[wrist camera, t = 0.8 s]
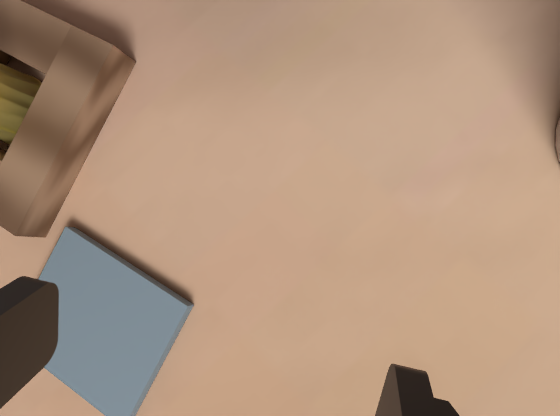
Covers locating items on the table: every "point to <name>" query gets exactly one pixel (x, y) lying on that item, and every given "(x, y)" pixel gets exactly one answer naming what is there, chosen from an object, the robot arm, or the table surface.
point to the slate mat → (109, 324)
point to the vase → (14, 100)
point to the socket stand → (53, 112)
